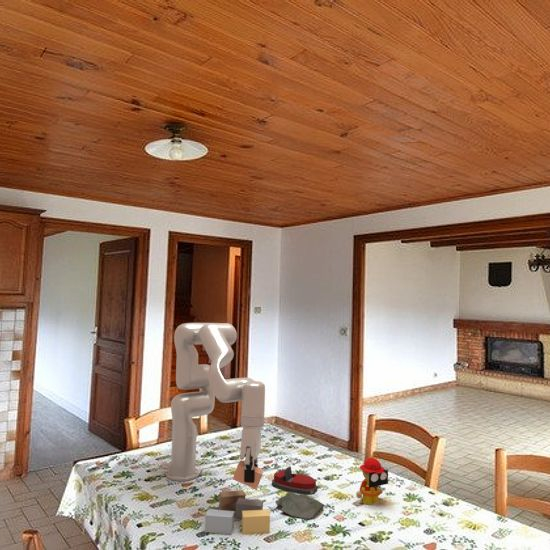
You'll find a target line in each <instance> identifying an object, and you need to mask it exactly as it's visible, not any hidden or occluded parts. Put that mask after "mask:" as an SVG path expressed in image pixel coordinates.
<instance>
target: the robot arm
mask: <svg viewBox="0 0 550 550" xmlns="http://www.w3.org/2000/svg"><path fill="white" fill-rule="evenodd" d="M173 339H174V341H173V342H174V346H175V347H174V348H175V350H176V362H175V363H176V364H175V366H176V367H175V368H176V369H175V385H176V387H177V388H178V389H179V390H182V391H188V390H196V389H197V390H198V389H199V391H192V392H183V393H178V394H177V395H175V396H174V397H173V398H171V399H172V400H171V402H170V411H171V419H172V423H171V424H172V428H171V432H172V434H171V450H170V451H171V456H170V457H171V458H170V462H167V461H162V462H161V463H160V464H161V465H160V466H161V469H162V470H167V471H166V472H165V473H166V475H165V476H166V478H167V479H168V478H169V479H168V480H170V479H171V480H170V481H174V480H175V481H176V482H186V481H191V480H195V479H197V478H198V477H199V476H200V470H199V469H197V468H196V463H197V462H196V461H197V460H196V459H197V437H198V436H197V435H198V429H197V425H196V424H195V421H193V418H196V417H203V416H207V415H210V414H211V413H212V412H213V411H214V409H215V402H216V399H217V401H219V402H220V403H224V404H226V403H227V404H229V403H235V402H241V405H240V407H241V409H240V412H241V413H240V426H241V427H242V432H241V438H240V439H241V440H240V454H239V459H240V461H241V460H242V461H243V460H244V462H245V469H244V482H248V483H254V479H255V469H254V466H256V467H258V465H259V464H258V463H259V461H258V460H259V458H258V457H259V456H260V455H259V454H260V453H261V447H262V446H261V445H262V428H264V426H265V408H266V407H265V405H266V404H265V403H266V401H265V400H266V386H265V383H264V382H262V381H257V380H254V379H253V378H250V377H237V378H236V377H235V378H226V379H225V378H224V377H225V376H224V375H223V374H222V371H221V369H222V368H224V367H226V366H227V365H228V364H230V362H231V361H232V360H233V358H234V355H235V352H234V350H233V348H232V347H231V345H234V343H235V342H236V341H237V339H238V333H237V330H236V328H235V327H234V326H233V325H232V324H231V323H227V322H224V323H221V322H186V323H181V324H180V325H178V326H177V328H176V329H175V331H174V337H173ZM194 345H202V347H203V349H204V350H205V352H206V354H207V355H208V358H209V360H210V363H211V364H210V365H209V364H206V363H204V364H201V363H200V364H199V353H198V350H197V348H196V347H195V346H194ZM215 398H216V399H215ZM258 468H259V467H258Z"/></svg>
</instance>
